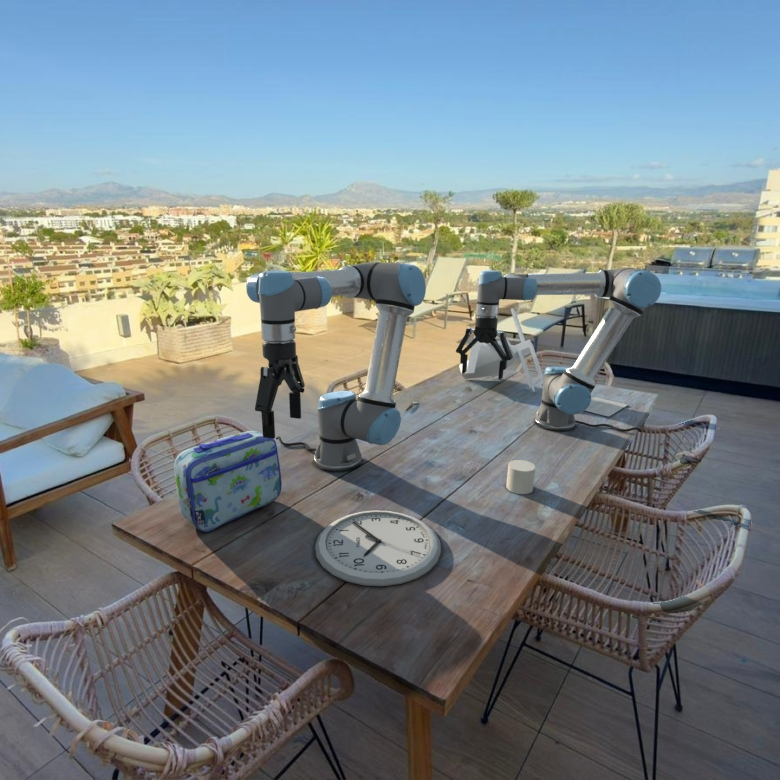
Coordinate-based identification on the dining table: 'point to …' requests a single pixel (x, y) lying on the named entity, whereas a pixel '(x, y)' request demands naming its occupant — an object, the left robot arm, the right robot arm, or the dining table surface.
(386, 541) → the wall clock
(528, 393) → the dining table surface
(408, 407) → the fork
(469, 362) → the white plastic object
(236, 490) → the lunch box
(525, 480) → the canister
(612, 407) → the invitation card
